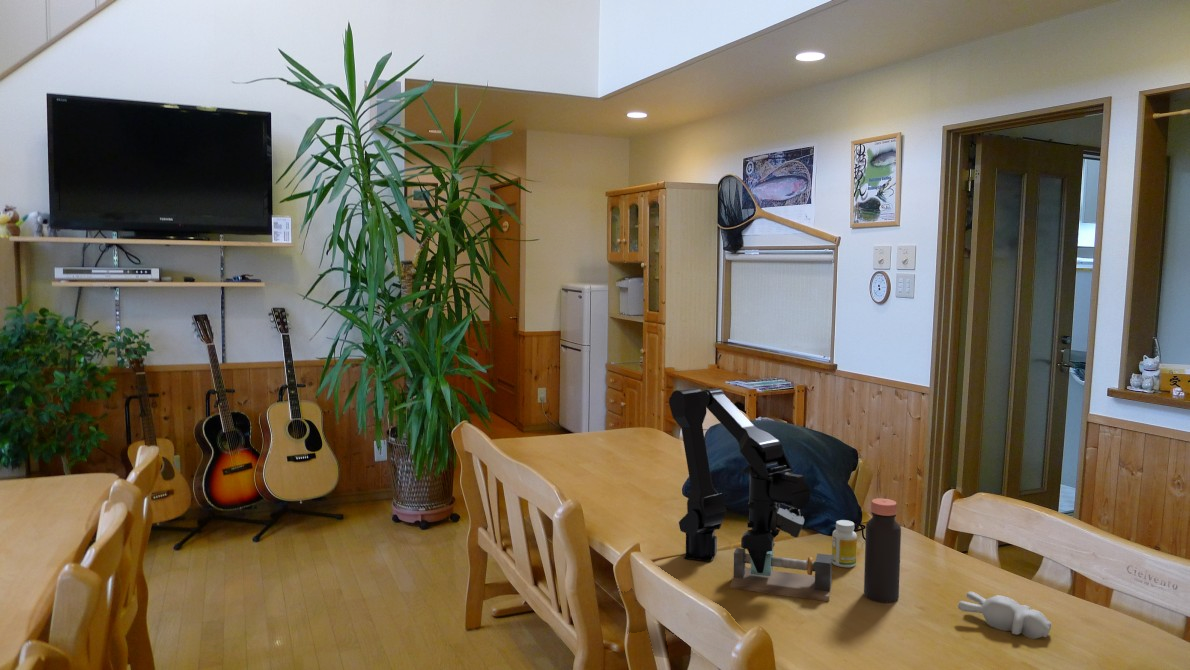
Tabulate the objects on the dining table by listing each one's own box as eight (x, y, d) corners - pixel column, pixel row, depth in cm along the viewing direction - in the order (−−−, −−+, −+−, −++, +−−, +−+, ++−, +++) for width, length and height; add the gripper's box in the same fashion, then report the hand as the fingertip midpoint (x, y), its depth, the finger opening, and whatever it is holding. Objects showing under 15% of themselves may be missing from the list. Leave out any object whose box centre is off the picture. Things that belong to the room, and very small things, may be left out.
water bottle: (899, 592, 166) (903, 499, 164) (897, 605, 160) (900, 508, 158) (865, 587, 169) (868, 495, 167) (861, 599, 163) (864, 504, 161)
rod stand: (730, 588, 169) (731, 556, 168) (738, 570, 178) (738, 540, 178) (828, 601, 162) (829, 568, 161) (831, 582, 171) (832, 550, 171)
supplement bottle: (826, 563, 182) (827, 522, 182) (840, 557, 186) (841, 517, 185) (847, 570, 178) (848, 528, 177) (860, 564, 182) (862, 523, 181)
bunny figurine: (1046, 627, 142) (958, 595, 151) (1040, 653, 143) (953, 620, 152) (1056, 609, 149) (971, 579, 159) (1051, 634, 150) (967, 603, 159)
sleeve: (750, 573, 170) (751, 552, 169) (754, 565, 174) (754, 544, 174) (769, 576, 168) (770, 554, 168) (772, 568, 173) (773, 546, 172)
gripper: (797, 514, 158) (796, 590, 160) (806, 488, 176) (804, 557, 177) (741, 508, 162) (740, 583, 164) (755, 484, 179) (754, 551, 181)
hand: (761, 568), depth 171 cm, fingers closed on sleeve, 5 cm apart
